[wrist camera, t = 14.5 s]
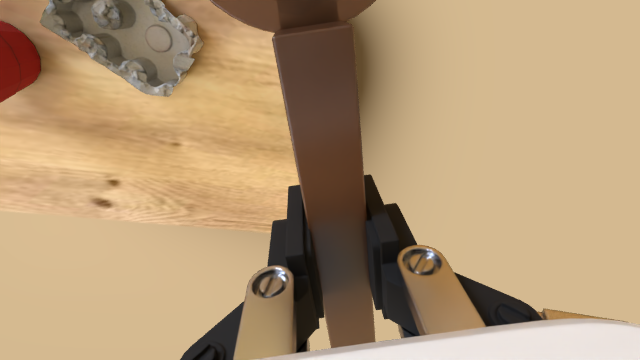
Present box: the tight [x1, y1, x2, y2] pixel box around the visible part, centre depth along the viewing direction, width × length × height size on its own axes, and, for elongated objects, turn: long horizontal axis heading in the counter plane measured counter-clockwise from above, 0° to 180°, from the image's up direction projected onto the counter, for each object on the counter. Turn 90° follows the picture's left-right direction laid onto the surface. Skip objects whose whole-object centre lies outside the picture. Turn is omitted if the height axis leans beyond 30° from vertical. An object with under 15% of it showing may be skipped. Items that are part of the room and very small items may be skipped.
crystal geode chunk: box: [40, 0, 203, 97], centre depth 26 cm, size 11×8×4 cm
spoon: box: [210, 0, 376, 348], centre depth 10 cm, size 20×6×3 cm, turn 8°
